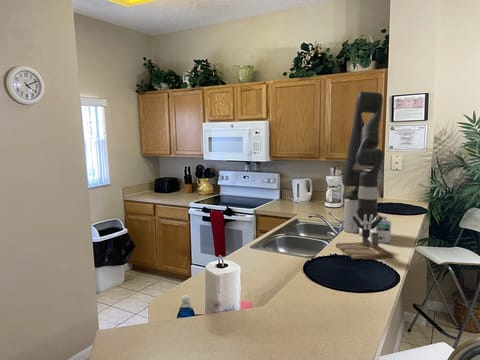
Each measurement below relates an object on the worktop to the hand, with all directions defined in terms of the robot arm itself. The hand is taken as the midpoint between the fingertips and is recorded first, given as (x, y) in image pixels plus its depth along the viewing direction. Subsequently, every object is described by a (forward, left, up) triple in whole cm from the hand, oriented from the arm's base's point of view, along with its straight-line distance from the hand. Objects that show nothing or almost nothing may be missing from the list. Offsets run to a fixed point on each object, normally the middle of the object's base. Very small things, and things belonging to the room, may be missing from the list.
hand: (365, 238), depth 145 cm
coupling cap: (-4, +4, -2) cm, 6 cm away
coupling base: (-5, +1, -8) cm, 9 cm away
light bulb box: (-21, +19, -8) cm, 29 cm away
